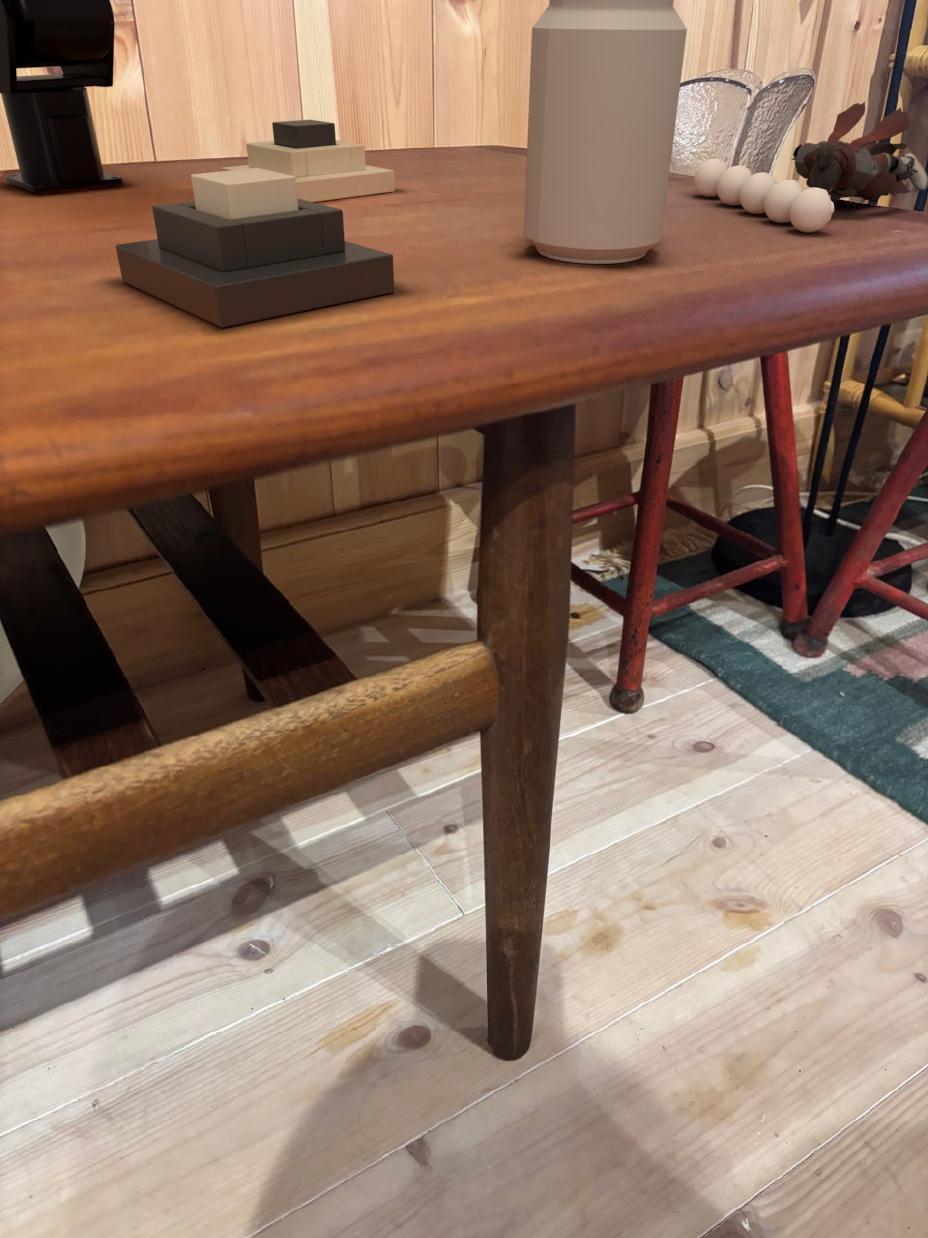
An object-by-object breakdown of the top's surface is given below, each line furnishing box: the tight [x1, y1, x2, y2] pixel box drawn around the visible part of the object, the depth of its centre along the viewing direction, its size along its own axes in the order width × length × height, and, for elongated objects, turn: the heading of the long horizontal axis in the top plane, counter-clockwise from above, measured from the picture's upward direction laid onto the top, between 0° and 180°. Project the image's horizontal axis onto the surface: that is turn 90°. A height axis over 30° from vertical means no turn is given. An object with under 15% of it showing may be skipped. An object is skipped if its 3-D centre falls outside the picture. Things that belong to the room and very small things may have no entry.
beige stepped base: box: [220, 139, 396, 203], centre depth 65 cm, size 9×9×3 cm
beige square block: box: [190, 168, 298, 220], centre depth 41 cm, size 3×3×2 cm
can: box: [523, 0, 688, 265], centre depth 46 cm, size 8×8×12 cm
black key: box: [271, 119, 337, 149], centre depth 64 cm, size 3×3×2 cm
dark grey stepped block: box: [115, 199, 395, 329], centre depth 42 cm, size 10×9×4 cm
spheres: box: [693, 158, 835, 233], centre depth 59 cm, size 15×2×2 cm, turn 14°
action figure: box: [790, 101, 928, 203], centre depth 60 cm, size 8×6×18 cm
